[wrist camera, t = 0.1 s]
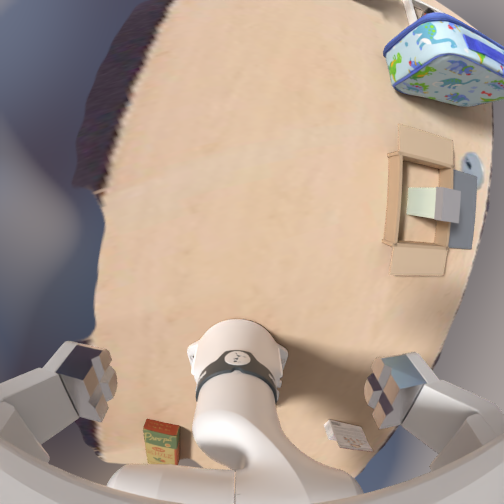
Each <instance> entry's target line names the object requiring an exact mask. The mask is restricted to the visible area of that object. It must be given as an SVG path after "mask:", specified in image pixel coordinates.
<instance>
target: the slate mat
mask: <svg viewBox="0 0 504 504" xmlns="http://www.w3.org/2000/svg"><path fill="white" fill-rule="evenodd" d="M453 189H454V190H458V191H461V200H460V215H459V223H453V222H451V226H450V235H449V243H448V247H449V248H462V249H471V248H472V241H473V233H474V223H475V211H476V193H477V177H476V176H473V175H470V174H467V173H464V172H460V171H457V170H454V169H453Z"/></svg>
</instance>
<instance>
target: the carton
mask: <svg viewBox="0 0 504 504" xmlns="http://www.w3.org/2000/svg"><path fill="white" fill-rule="evenodd" d="M143 432H144V440H145V447H146V454H147V460H148V463H149V464H173V465H178V462H179V438H180V426H179V425H173V424H169V423H164V422H159V421H155V420H150V419H146V422H145V425H144V428H143Z"/></svg>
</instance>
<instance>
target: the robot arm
mask: <svg viewBox="0 0 504 504" xmlns="http://www.w3.org/2000/svg"><path fill="white" fill-rule="evenodd" d="M187 354H188V357H189V360H190V364H191V367H192V374H193V375H194V378H195V381H196V383H197V386H196V401H197V405H196V410H195V415H194V420H193V426H192V432H193V436H194V439H195V441H196V443H197V445H198V446H199V447H200V449H201V450H202V451H203V452H204V453H205V454H206V455H207V456H208V457H209V458H211V459H212V460H214V461H216V462H218V463H220V464H222V465H224V466H226V467H228V468H230V469H232V470H221V469H207V468H196V467H188V466H180V465H173V464H127V465H125V466H123V467H122V468H120V469H119V470H118V471H117V472H116V473H115V474H114V475H113V476H112V477H111V479H110V480H109V482H108V484H107V486H104V485H101V484H98V483H95V482H92V481H89V480H86V479H84V478H81V477H78V476H76V475H73V474H71V473H68V472H66V471H64V470H61V469H59V468H57V467H55V466H52V465H50V464H48V461H49V459H50V458H49V455H48V454H47V452H46V451H45V450H44V449H43V447H42V446H41V444H42V443H44V442H45V441H47V440H48V439H50V438H51V437H52V436H54V435H55V434H57V433H58V432H60V431H61V430H62V429H64V428H65V427H67V426H68V425H69V424H71V423H72V422H74V421H75V420H76V419H78V418H79V417H83V418H87V419H90V420H94V421H98V422H102V421H103V419H104V416H105V414H106V412H107V410H108V408H109V407H108V404H107V401H109V400H111V399H112V398H113V397H114V395H115V393H116V389H117V376H116V372H115V370H114V369H113V368H112V367H111V366H110V365H109V364H110V362H111V361H112V358H111V355H110V352H109V351H108V350H107V349H103V348H99V347H94V346H90V345H85V344H79V343H76V342H72V341H67V342H64V343H63V345H62V346H61V347H60V348H59V349H58V351H57V352H56V353H55V354H54V355H53V356H52V358H51V359H50V360H49V361H48V362H47V364H46V365H45V366H44V367H43V368H42V369H41V368H37V369H35V370H32V371H30V372H27V373H25V374H23V375H20V376H18V377H15V378H13V379H10V380H8V381H6V382H3V383H1V384H0V504H234V471H235V472H236V477H235V504H504V414H503V413H502V411H501V410H500V409H499V408H498V406H497V405H496V404H495V403H493V402H491V401H489V400H487V399H484V398H482V397H480V396H478V395H476V394H473V393H471V392H469V391H467V390H465V389H463V388H460V387H458V386H456V385H454V384H452V383H449V382H447V381H445V380H439V378H438V377H437V376H436V375H435V373H434V372H433V371H432V370H431V368H430V367H429V366H428V365H427V363H426V362H425V361H424V360H423V358H422V357H421V356H420V355H419V354H418V353H416V352H411V353H405V354H402V355H394V356H386V357H378V358H376V359H375V360H374V361H373V363H372V366H371V369H372V371H373V373H372V374H371V375H370V376H369V377H368V378H367V379H366V382H365V385H364V396H365V400H366V402H367V405H368V406H370V407H372V408H373V409H374V411H373V413H372V416H373V418H374V420H375V422H376V424H377V427H378V429H383V428H388V427H393V426H397V425H401V426H402V427H403V428H405V429H406V430H407V431H409V432H410V433H411V434H413V435H414V436H415V437H416V438H418V439H419V440H421V441H422V442H423V443H424V444H426V445H427V446H428V447H430V448H431V449H433V450H434V451H435V452H437V453H438V454H439V455H438V456H437V457H436V458H435V459H434V460H433V461H432V463H431V464H430V466H429V467H430V469H431V472H429V473H426V474H424V475H421V476H419V477H416V478H413V479H411V480H408V481H405V482H402V483H399V484H396V485H393V486H390V487H387V488H384V489H380V490H377V491H373V492H369V493H365V494H364V493H363V491H362V489H361V487H360V485H359V484H358V483H357V481H356V480H355V479H354V478H353V477H352V476H351V475H349V474H348V473H346V472H345V471H343V470H340V469H336V468H332V467H329V466H327V465H324V464H322V463H320V462H318V461H316V460H314V459H312V458H310V457H309V456H307V455H306V454H304V453H303V452H302V451H300V450H299V449H298V448H297V447H296V446H295V445H294V444H293V443H292V442H291V441H290V440H289V439H288V438H287V436H286V435H285V433H284V432H283V430H282V428H281V425H280V421H279V418H278V414H277V409H276V403H277V400H278V398H279V390H277V387H278V388H280V387H281V384H282V381H281V380H280V378H282V376H283V369H284V366H285V364H286V361H287V358H288V351H287V349H285V348H284V347H283V346H281V345H279V344H277V343H276V342H275V340H274V339H273V337H272V336H271V334H270V333H269V332H268V331H267V330H266V329H265V328H263V327H262V326H260V325H259V324H257V323H254V322H252V321H248V320H243V319H231V320H226V321H222V322H220V323H217V324H215V325H214V326H212V327H211V328H210V329H209V330H207V332H206V333H205V334H204V335H203V337H202V338H201V339H200V340H199V341H196V342H194V343H193V344H191V345H190V346H189V347H188V349H187ZM281 359H282V360H281Z"/></svg>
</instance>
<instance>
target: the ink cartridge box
mask: <svg viewBox="0 0 504 504" xmlns="http://www.w3.org/2000/svg"><path fill="white" fill-rule="evenodd" d="M324 427H325V430H326V433H327V437H328V439H330V440H335V441H337V442H338V445H339V447H340V448H346V449H352V450H360V451H369V452H373V450H372V448H371V447H370V445H369V443H368V441H367V439H366V437H365V434H364V432H363V430H362V427H360V426H355V425H351V424H346V423H342V422H338V421H334V420H330V419H329V420H328V421H327V422H326V423H325V424H324ZM350 444H351V445H358V446H360V447H359V448H355V447H353V446H351V445H350Z"/></svg>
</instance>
